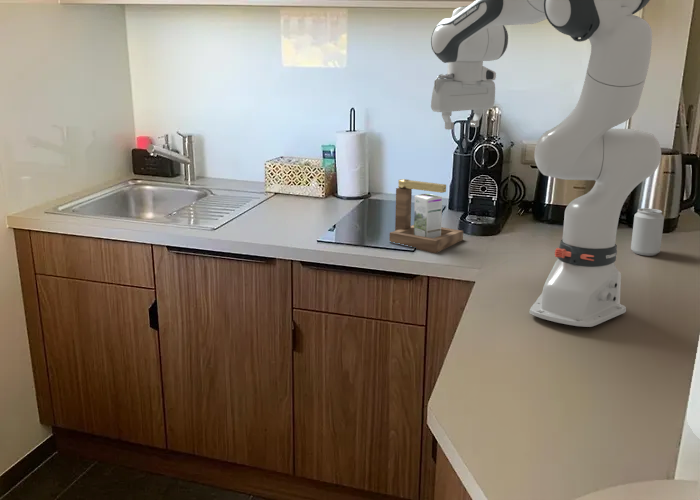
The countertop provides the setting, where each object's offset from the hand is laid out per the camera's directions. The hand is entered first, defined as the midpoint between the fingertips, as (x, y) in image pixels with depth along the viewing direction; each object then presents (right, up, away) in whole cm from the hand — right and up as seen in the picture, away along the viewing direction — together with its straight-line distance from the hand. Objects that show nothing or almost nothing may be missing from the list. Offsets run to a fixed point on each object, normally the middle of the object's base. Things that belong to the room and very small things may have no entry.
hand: (462, 128), depth 186 cm
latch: (-9, -15, +13) cm, 22 cm away
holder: (-8, -30, +16) cm, 36 cm away
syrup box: (-7, -31, +15) cm, 35 cm away
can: (+52, -33, +10) cm, 62 cm away
